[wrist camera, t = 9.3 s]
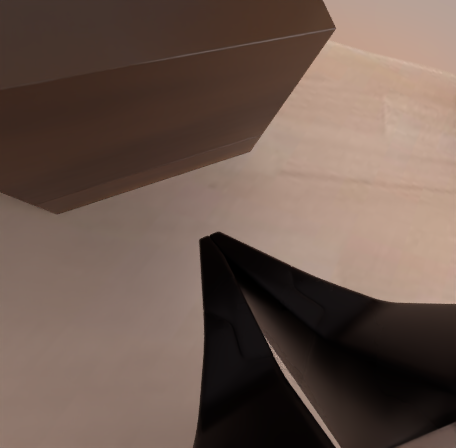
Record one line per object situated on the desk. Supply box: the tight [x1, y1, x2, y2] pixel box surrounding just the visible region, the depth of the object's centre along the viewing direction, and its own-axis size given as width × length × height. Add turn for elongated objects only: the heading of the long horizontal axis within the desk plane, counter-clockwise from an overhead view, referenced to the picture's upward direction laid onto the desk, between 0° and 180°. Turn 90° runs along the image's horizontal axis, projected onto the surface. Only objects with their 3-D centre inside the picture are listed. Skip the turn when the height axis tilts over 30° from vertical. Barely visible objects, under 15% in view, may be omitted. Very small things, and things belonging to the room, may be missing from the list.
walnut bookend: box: [0, 0, 336, 214], centre depth 12 cm, size 12×14×10 cm
